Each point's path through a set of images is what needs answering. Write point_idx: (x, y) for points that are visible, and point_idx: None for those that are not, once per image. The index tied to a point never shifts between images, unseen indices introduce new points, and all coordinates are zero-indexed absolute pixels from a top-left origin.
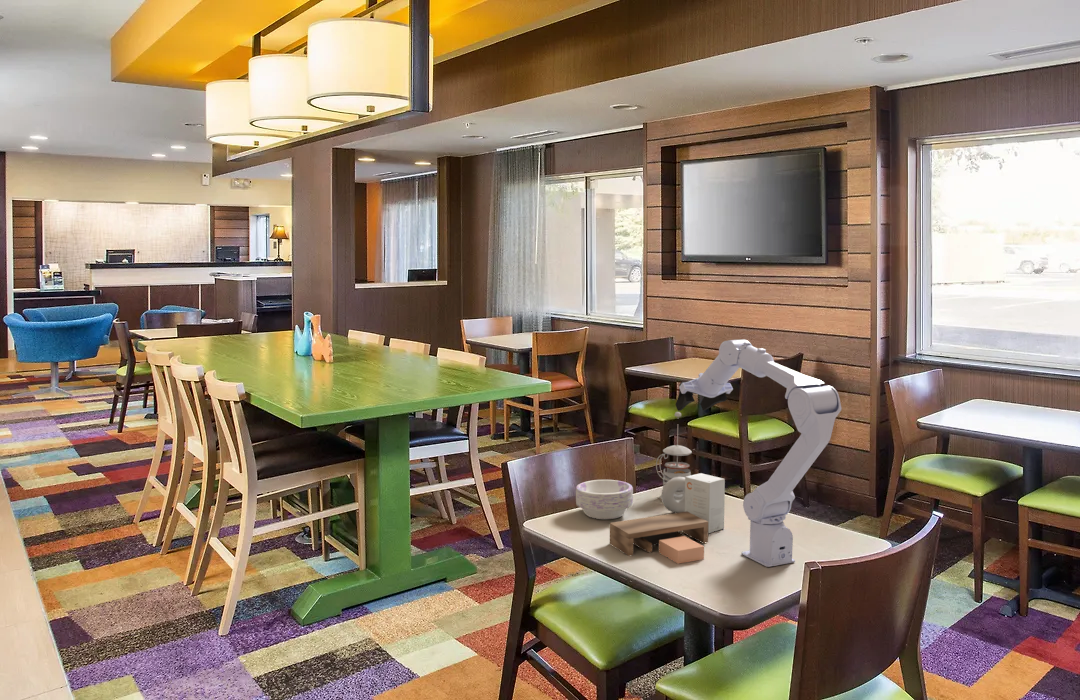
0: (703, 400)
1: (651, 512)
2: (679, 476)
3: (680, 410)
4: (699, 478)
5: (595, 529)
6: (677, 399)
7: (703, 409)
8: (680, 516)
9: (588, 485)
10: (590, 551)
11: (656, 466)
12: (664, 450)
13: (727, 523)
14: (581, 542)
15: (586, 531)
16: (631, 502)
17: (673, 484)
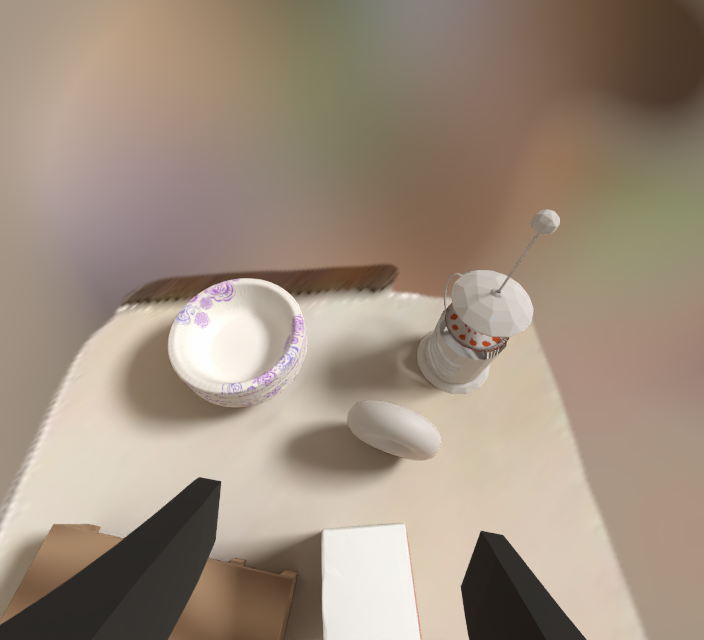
0: (506, 592)
1: (340, 401)
2: (457, 357)
3: (210, 546)
4: (342, 593)
5: (160, 421)
6: (145, 523)
7: (464, 594)
8: (237, 611)
9: (242, 290)
10: (13, 540)
11: (446, 284)
12: (457, 284)
13: (435, 587)
14: (62, 473)
15: (136, 420)
16: (269, 396)
17: (369, 428)
